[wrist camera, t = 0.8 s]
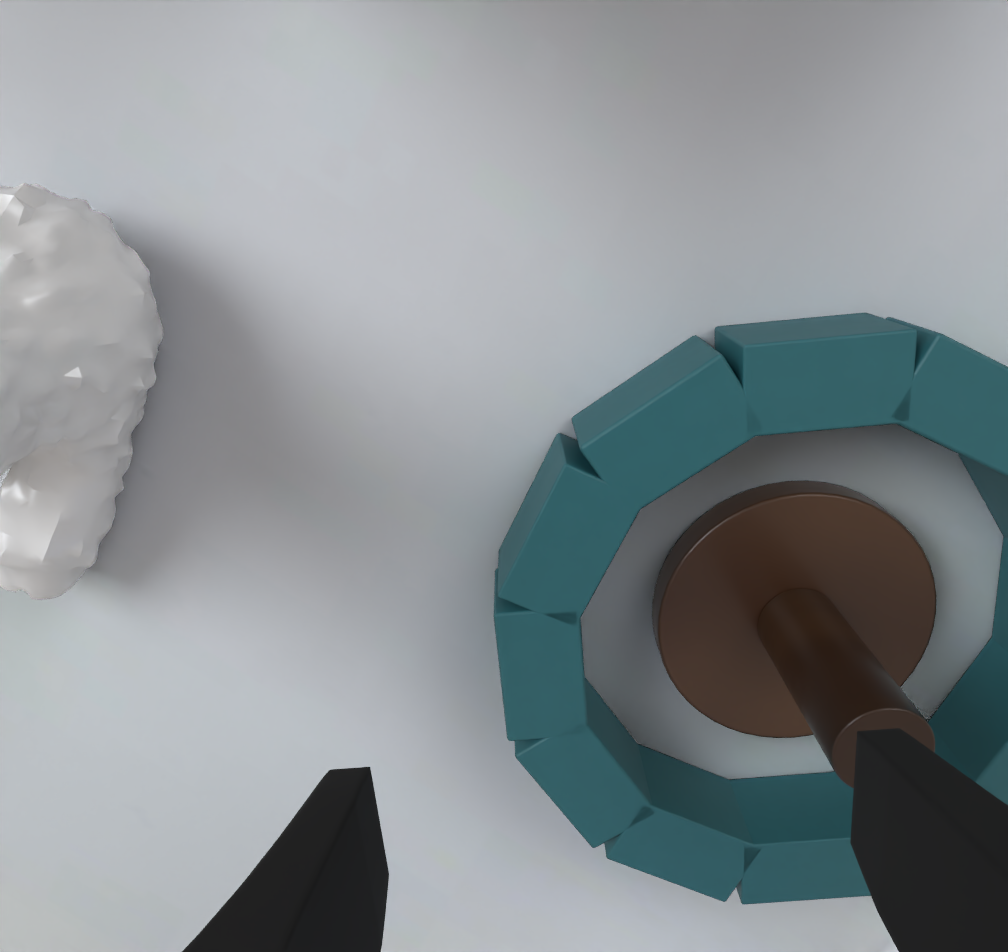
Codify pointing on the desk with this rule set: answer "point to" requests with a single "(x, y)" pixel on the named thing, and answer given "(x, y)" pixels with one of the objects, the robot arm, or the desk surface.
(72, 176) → the desk surface
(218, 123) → the desk surface
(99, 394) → the white creature statuette
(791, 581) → the hanging post
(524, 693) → the hoop
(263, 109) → the desk surface
